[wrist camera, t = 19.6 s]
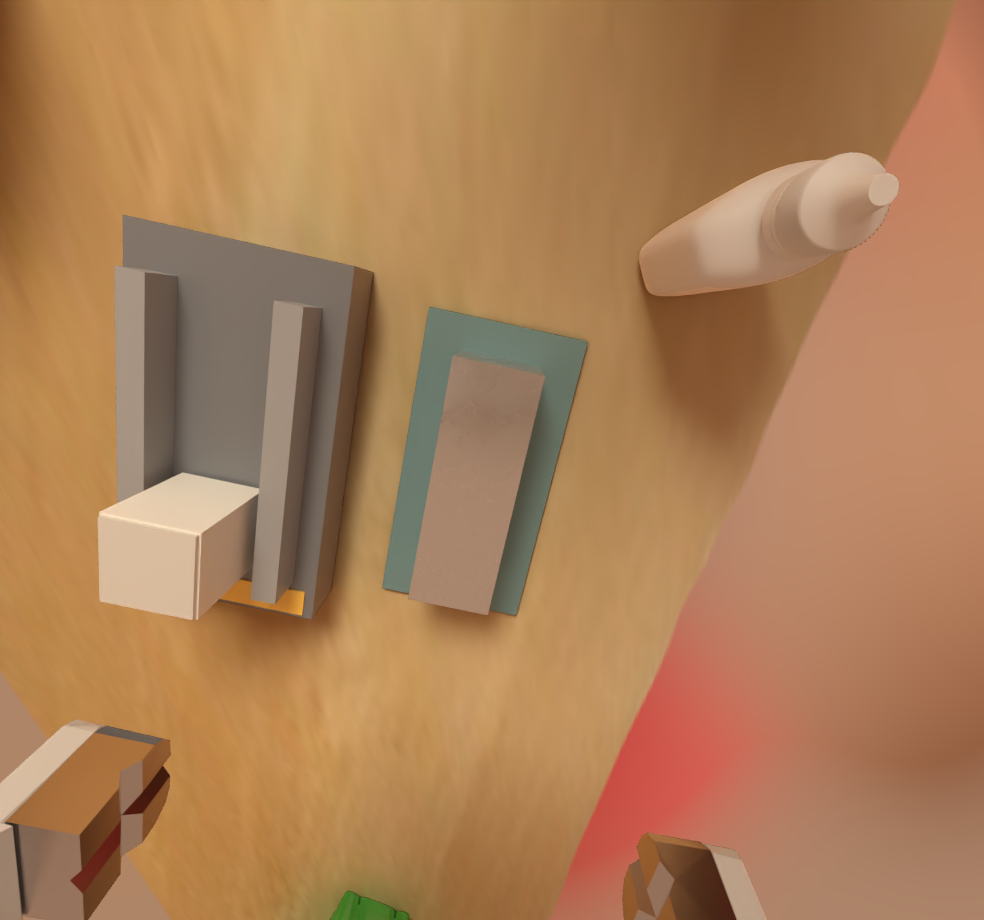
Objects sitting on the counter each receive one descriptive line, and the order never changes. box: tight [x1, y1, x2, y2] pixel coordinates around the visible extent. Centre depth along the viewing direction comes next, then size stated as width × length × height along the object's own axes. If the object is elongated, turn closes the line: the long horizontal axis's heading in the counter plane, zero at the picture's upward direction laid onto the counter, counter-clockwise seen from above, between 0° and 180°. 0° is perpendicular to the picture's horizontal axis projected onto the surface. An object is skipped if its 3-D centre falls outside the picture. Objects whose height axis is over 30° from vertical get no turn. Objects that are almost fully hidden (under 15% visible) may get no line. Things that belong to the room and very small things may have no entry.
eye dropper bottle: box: [639, 152, 899, 296], centre depth 17 cm, size 4×6×12 cm
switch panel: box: [115, 215, 373, 620], centre depth 24 cm, size 18×10×5 cm, turn 168°
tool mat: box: [382, 307, 588, 615], centre depth 26 cm, size 16×8×1 cm, turn 168°
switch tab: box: [98, 473, 259, 620], centre depth 22 cm, size 4×4×5 cm
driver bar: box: [408, 350, 545, 615], centre depth 24 cm, size 12×4×4 cm, turn 168°
